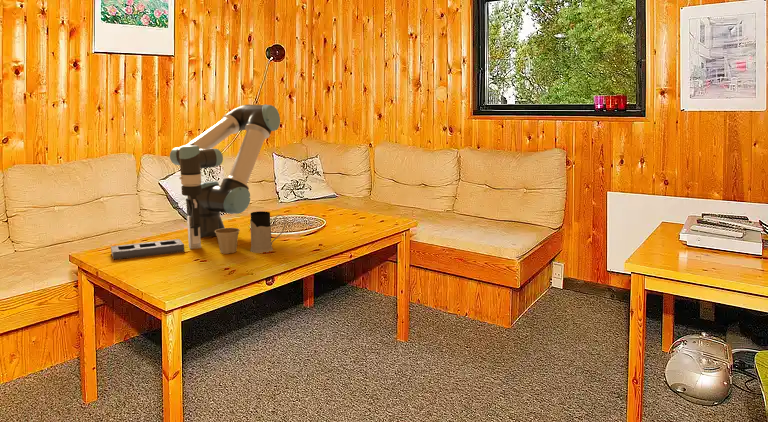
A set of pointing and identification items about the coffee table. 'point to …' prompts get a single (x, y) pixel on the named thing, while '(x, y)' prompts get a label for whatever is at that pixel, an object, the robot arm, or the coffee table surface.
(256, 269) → the coffee table surface
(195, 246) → the beige tall block
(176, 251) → the dark grey ladder frame
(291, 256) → the coffee table surface
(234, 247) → the flower pot
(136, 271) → the coffee table surface
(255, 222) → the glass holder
